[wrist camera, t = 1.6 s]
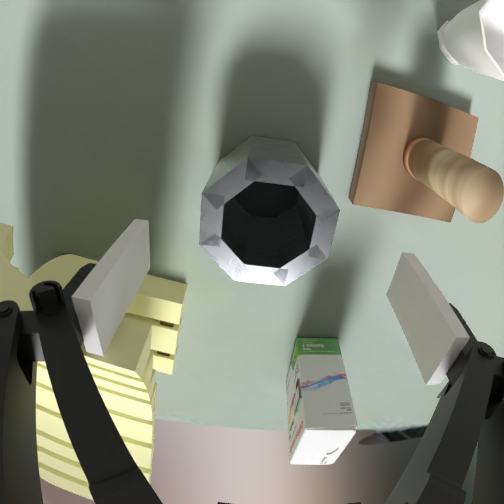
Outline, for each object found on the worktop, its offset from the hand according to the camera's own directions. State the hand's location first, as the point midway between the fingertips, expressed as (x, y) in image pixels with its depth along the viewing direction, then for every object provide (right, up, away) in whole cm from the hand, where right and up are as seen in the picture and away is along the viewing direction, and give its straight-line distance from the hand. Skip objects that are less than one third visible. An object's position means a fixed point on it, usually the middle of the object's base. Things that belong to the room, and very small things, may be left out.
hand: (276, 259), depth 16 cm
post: (+12, +9, +8) cm, 17 cm away
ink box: (+6, -12, +20) cm, 24 cm away
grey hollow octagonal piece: (0, +6, +10) cm, 12 cm away
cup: (+18, +18, +3) cm, 25 cm away
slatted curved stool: (-17, -6, +18) cm, 25 cm away
